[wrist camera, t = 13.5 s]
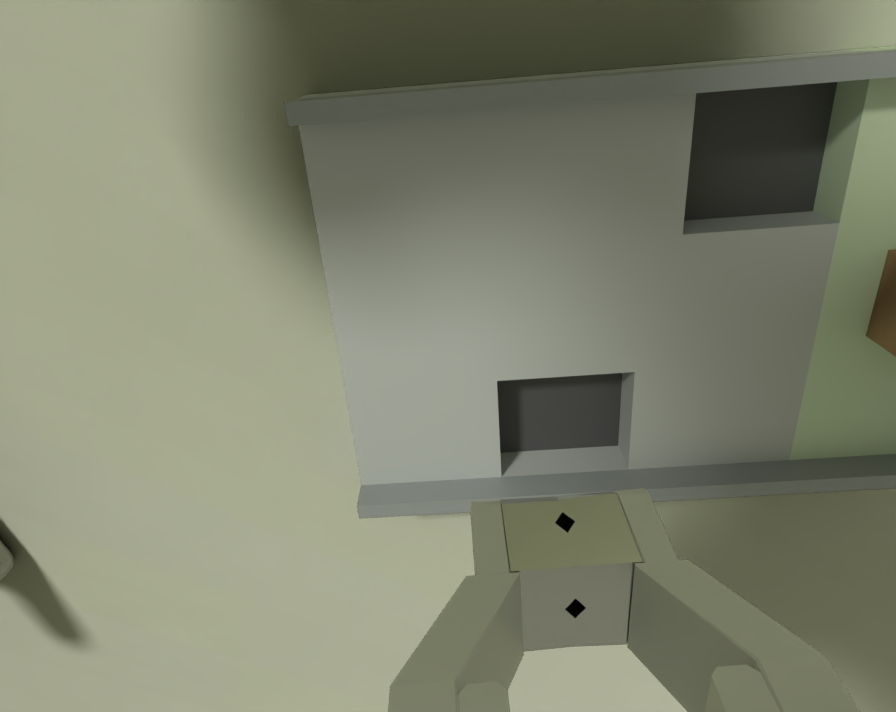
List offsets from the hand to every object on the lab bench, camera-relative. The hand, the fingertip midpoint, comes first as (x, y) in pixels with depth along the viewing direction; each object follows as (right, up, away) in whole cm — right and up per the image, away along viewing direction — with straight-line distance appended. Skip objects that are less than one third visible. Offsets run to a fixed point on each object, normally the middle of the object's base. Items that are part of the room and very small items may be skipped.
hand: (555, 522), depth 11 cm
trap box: (+10, +7, +26) cm, 29 cm away
